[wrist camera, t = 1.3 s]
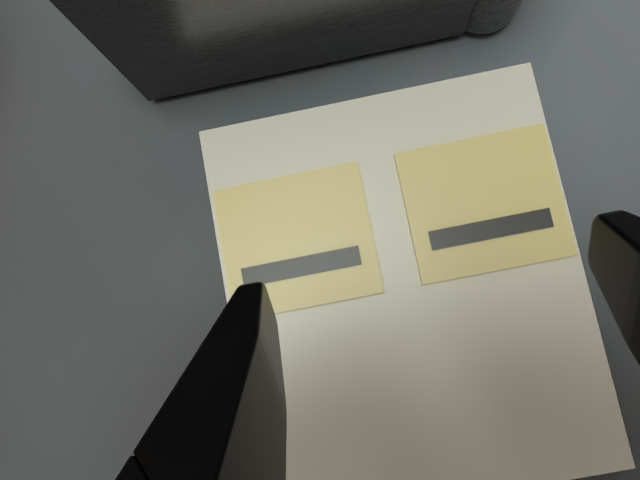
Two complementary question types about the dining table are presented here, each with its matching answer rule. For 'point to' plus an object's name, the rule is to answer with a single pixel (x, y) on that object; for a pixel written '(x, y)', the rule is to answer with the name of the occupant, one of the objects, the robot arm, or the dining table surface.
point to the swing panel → (262, 34)
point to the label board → (420, 285)
